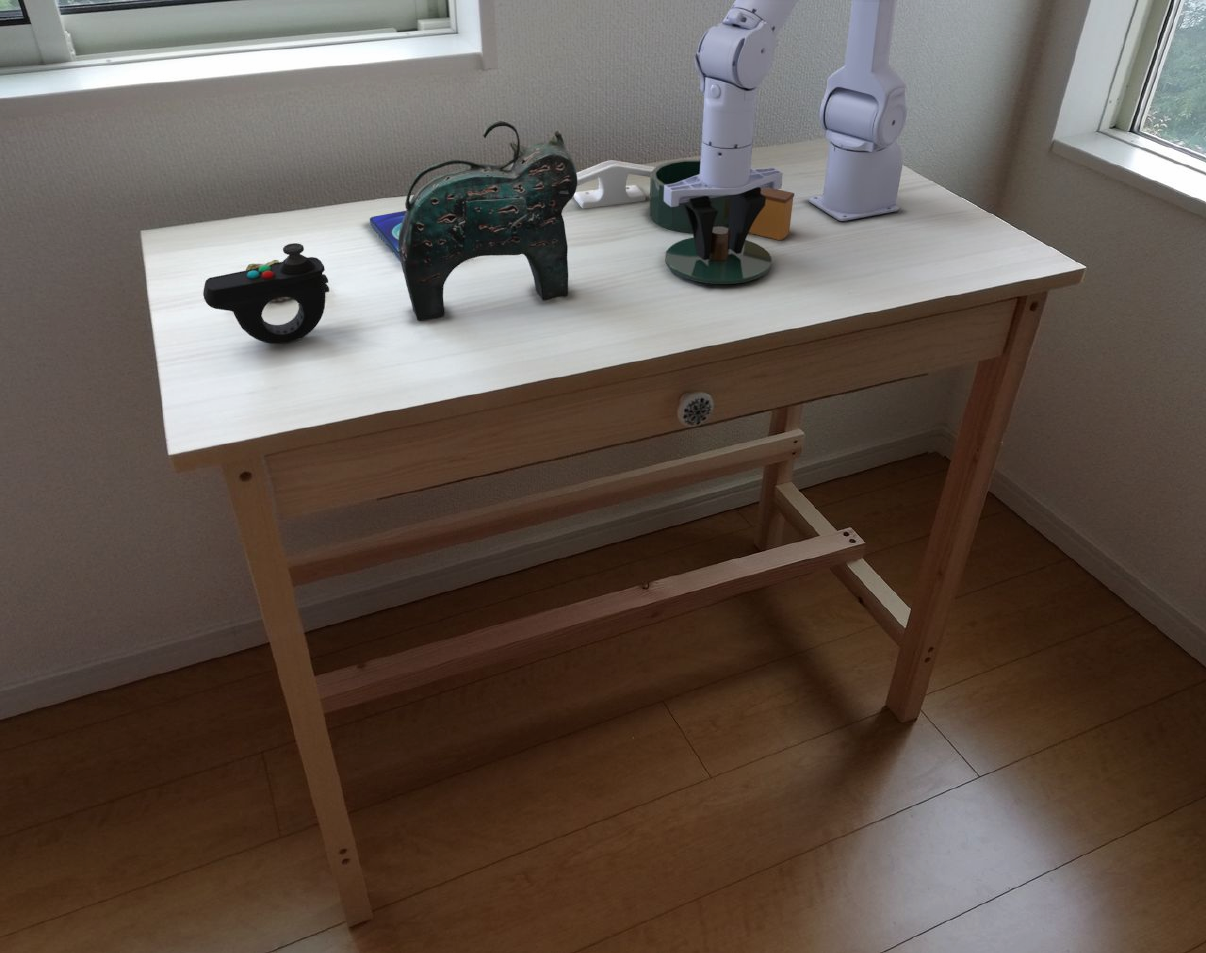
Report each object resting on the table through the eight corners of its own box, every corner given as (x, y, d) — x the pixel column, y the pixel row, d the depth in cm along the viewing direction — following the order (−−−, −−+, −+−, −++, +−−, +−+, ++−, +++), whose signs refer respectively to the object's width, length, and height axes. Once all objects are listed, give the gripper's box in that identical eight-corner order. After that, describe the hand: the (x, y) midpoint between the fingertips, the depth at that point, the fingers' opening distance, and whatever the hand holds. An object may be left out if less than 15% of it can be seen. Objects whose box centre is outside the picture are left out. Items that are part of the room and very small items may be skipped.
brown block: (789, 233, 129) (794, 192, 126) (780, 241, 127) (785, 199, 124) (754, 225, 131) (757, 184, 128) (744, 232, 129) (748, 191, 126)
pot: (711, 193, 140) (714, 154, 137) (754, 224, 131) (758, 183, 128) (635, 206, 136) (636, 166, 133) (674, 238, 128) (676, 197, 124)
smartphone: (422, 207, 134) (461, 247, 123) (423, 213, 134) (462, 254, 123) (367, 217, 131) (402, 259, 120) (368, 224, 131) (403, 266, 121)
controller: (341, 336, 107) (325, 249, 101) (222, 363, 103) (198, 273, 97) (330, 319, 110) (314, 234, 104) (215, 344, 106) (191, 256, 100)
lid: (737, 236, 128) (740, 203, 125) (790, 277, 119) (795, 241, 116) (647, 253, 124) (648, 219, 121) (695, 296, 115) (697, 260, 112)
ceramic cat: (569, 278, 118) (566, 105, 106) (588, 302, 114) (586, 124, 102) (403, 305, 113) (379, 126, 101) (415, 331, 108) (391, 146, 96)
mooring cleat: (536, 202, 137) (534, 163, 134) (671, 185, 142) (673, 147, 139) (544, 213, 134) (542, 173, 131) (682, 195, 139) (684, 157, 136)
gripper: (764, 122, 118) (754, 231, 126) (653, 138, 113) (650, 250, 121) (797, 140, 112) (783, 253, 121) (681, 157, 108) (676, 273, 116)
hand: (718, 253), depth 120 cm, fingers open, 4 cm apart
